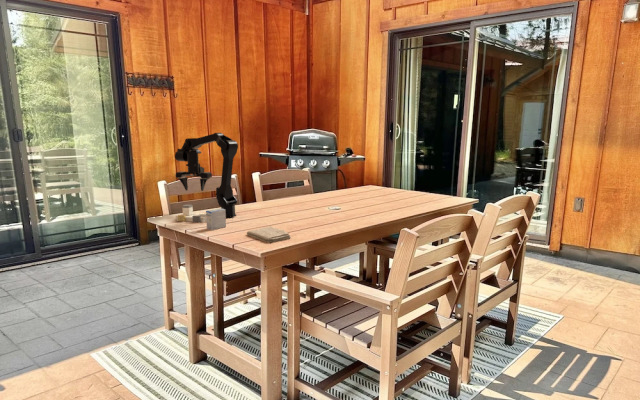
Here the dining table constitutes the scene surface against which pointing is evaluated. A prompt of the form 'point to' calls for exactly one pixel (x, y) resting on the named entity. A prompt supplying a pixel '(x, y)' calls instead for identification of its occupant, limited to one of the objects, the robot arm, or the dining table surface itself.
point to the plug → (187, 210)
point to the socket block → (192, 217)
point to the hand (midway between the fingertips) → (194, 190)
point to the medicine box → (216, 218)
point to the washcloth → (269, 234)
